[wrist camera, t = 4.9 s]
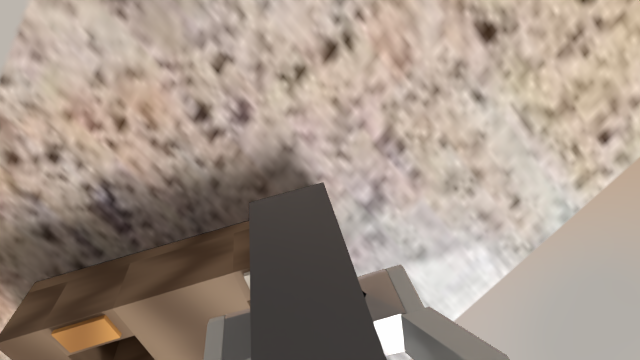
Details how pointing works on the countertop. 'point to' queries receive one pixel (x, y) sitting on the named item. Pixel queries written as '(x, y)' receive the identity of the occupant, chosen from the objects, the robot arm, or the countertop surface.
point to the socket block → (135, 303)
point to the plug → (305, 283)
